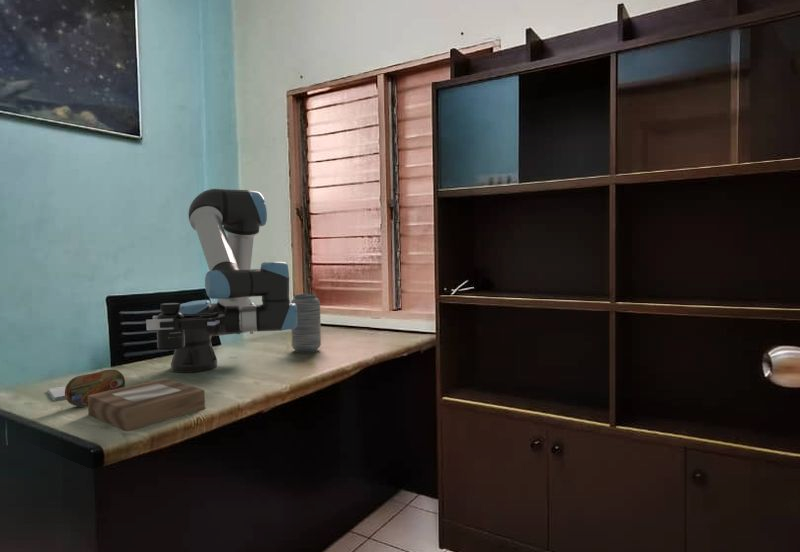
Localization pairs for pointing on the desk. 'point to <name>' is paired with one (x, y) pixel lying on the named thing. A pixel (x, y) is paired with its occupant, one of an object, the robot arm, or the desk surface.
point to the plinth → (145, 403)
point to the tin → (92, 386)
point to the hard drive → (57, 393)
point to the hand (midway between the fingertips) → (150, 323)
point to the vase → (307, 324)
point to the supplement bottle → (170, 337)
